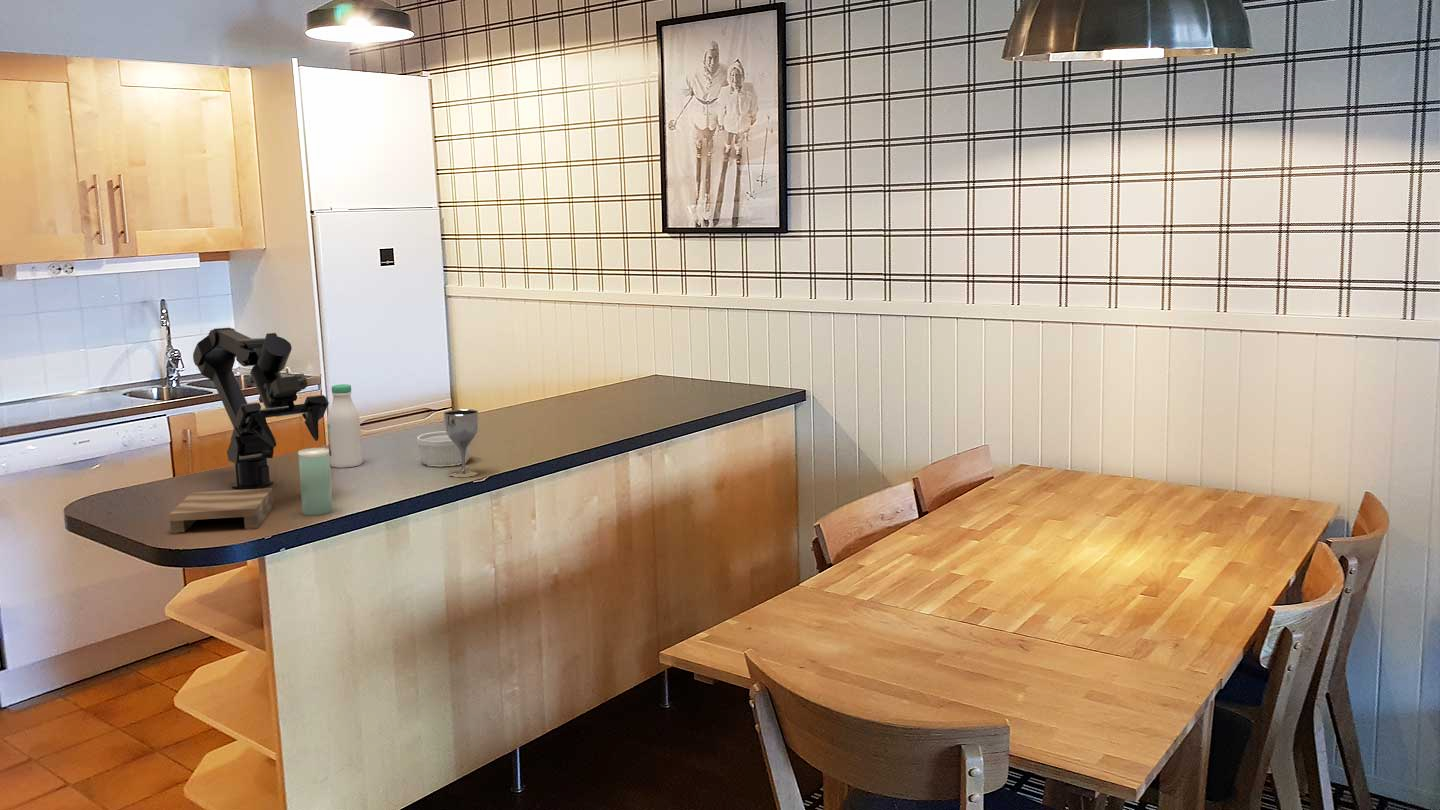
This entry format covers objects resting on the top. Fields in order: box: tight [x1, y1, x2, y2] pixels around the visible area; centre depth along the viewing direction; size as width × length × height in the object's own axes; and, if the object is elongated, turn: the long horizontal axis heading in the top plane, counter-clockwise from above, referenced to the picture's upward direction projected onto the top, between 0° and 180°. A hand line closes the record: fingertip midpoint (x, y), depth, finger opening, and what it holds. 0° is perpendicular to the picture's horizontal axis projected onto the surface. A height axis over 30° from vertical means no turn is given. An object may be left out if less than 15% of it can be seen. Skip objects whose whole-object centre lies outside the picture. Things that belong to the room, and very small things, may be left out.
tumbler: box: [297, 447, 334, 516], centre depth 242 cm, size 6×6×13 cm
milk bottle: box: [326, 384, 363, 469], centre depth 287 cm, size 8×8×20 cm
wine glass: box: [443, 408, 479, 474], centre depth 275 cm, size 8×8×15 cm
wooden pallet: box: [169, 487, 274, 534], centre depth 237 cm, size 18×16×4 cm
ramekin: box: [416, 430, 472, 465], centre depth 289 cm, size 13×13×7 cm
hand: (296, 442), depth 246 cm, fingers open, 9 cm apart
